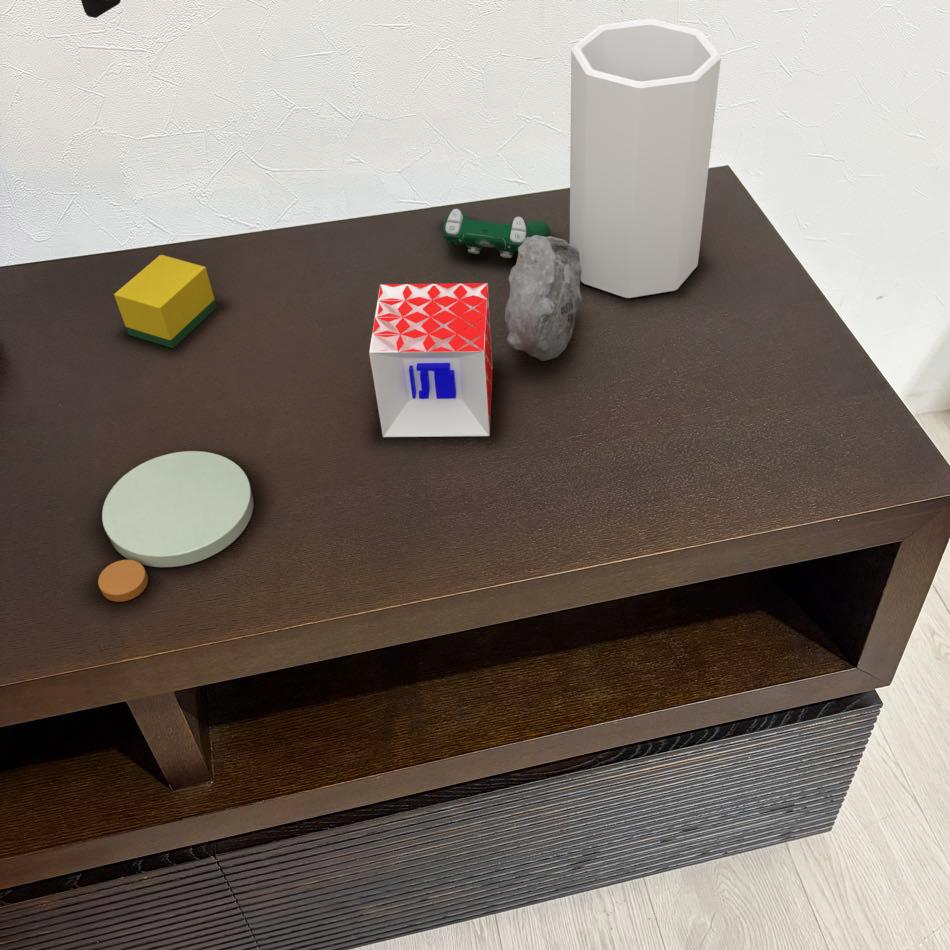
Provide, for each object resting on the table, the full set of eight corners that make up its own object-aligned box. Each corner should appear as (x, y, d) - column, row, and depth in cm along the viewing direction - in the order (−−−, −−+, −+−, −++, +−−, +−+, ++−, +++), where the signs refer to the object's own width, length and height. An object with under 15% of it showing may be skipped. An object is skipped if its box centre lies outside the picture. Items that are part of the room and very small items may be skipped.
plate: (76, 540, 74) (70, 528, 74) (166, 447, 81) (162, 435, 80) (197, 586, 72) (192, 574, 71) (281, 486, 78) (278, 474, 77)
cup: (700, 230, 99) (724, 21, 85) (694, 305, 91) (718, 89, 77) (577, 222, 100) (580, 13, 86) (561, 294, 92) (561, 80, 79)
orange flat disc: (91, 593, 71) (87, 586, 71) (120, 561, 73) (117, 553, 73) (129, 608, 71) (125, 600, 70) (157, 574, 72) (154, 567, 72)
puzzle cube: (492, 367, 86) (488, 283, 80) (489, 436, 81) (484, 351, 75) (391, 368, 86) (378, 284, 80) (381, 437, 81) (367, 352, 75)
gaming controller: (447, 255, 100) (429, 241, 94) (454, 212, 99) (436, 196, 93) (546, 268, 98) (534, 255, 92) (553, 225, 98) (541, 209, 92)
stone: (598, 382, 85) (602, 273, 77) (511, 391, 84) (507, 282, 77) (579, 310, 91) (581, 202, 83) (497, 318, 90) (492, 210, 83)
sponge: (173, 348, 88) (159, 307, 85) (128, 334, 89) (113, 294, 86) (217, 307, 92) (205, 266, 89) (173, 294, 93) (160, 254, 90)
